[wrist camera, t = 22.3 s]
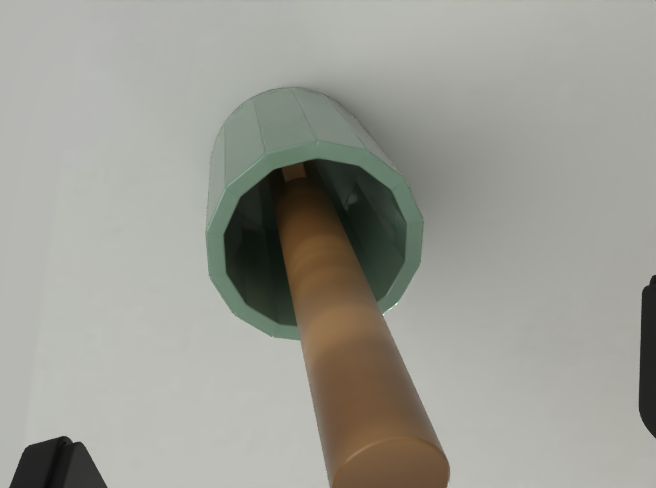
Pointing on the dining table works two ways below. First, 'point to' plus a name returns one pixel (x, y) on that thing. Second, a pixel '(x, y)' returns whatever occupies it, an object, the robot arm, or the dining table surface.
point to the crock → (342, 186)
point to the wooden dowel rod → (350, 349)
